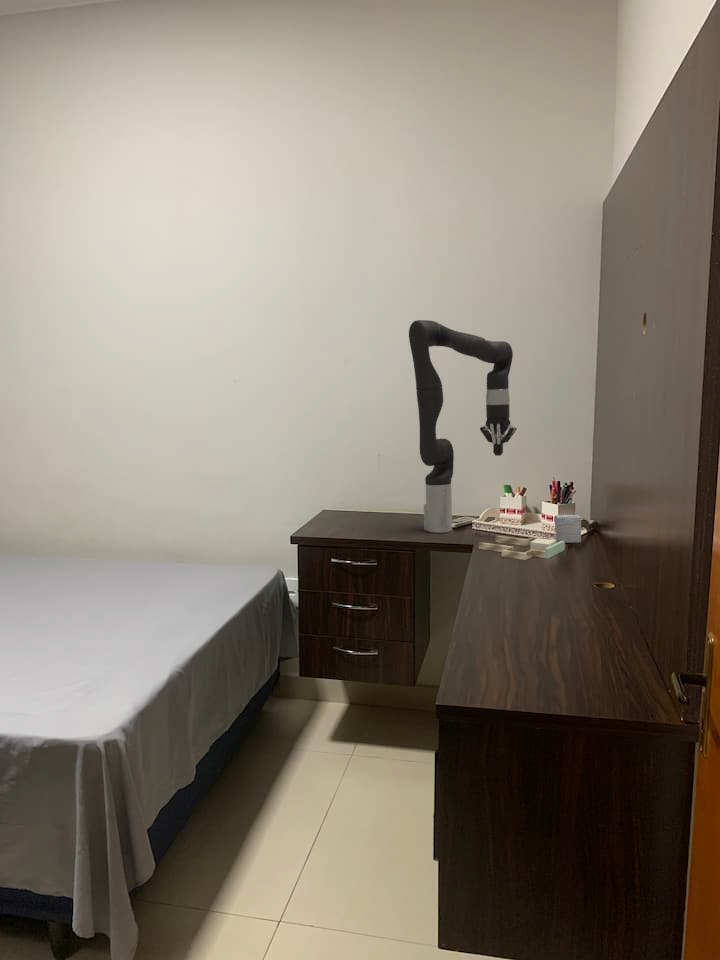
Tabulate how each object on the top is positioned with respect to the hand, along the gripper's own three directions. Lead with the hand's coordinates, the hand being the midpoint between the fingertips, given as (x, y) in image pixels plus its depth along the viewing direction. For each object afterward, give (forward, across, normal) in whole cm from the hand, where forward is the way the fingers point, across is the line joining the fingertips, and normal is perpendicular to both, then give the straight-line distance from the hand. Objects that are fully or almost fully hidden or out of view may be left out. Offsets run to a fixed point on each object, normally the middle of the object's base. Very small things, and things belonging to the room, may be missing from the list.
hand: (498, 455), depth 245 cm
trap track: (+29, +13, -8) cm, 33 cm away
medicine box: (+29, +20, +10) cm, 37 cm away
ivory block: (+29, +20, -8) cm, 36 cm away
